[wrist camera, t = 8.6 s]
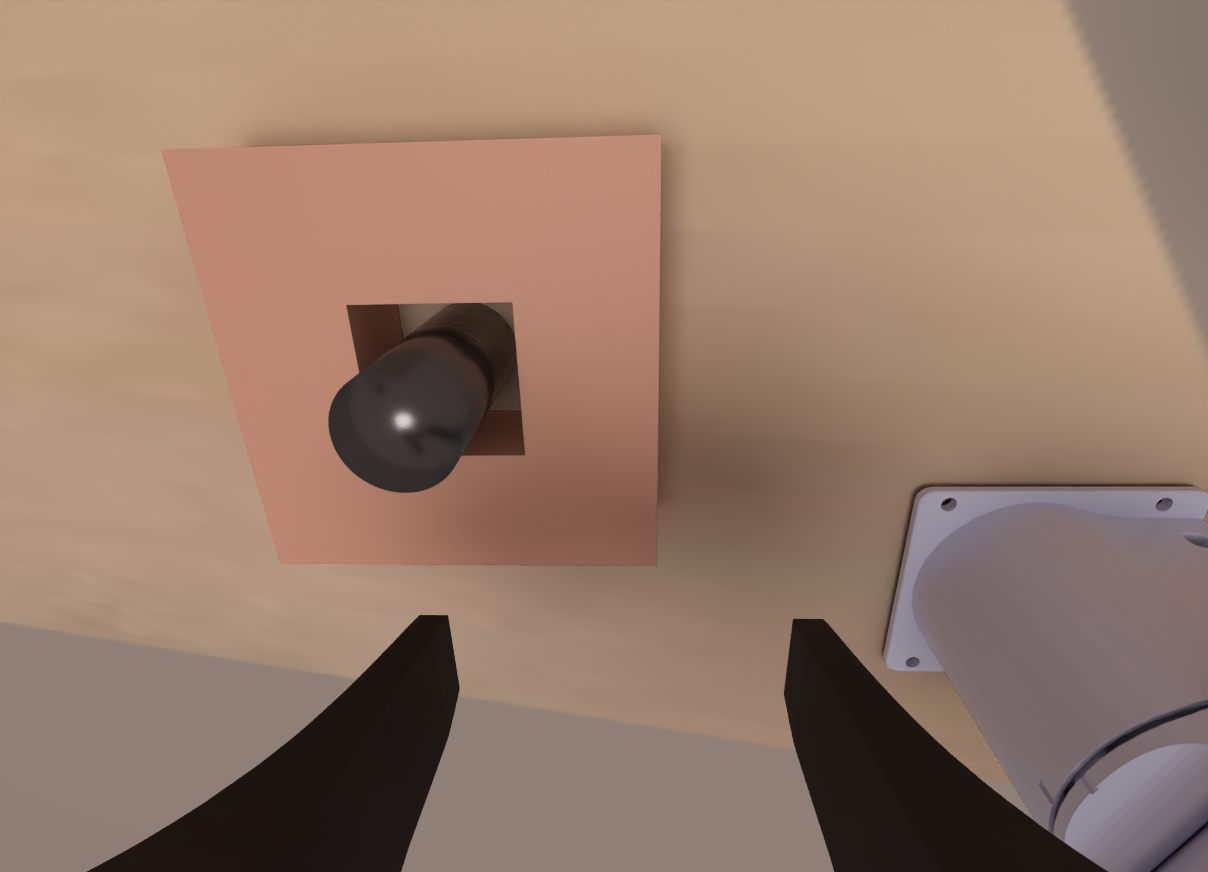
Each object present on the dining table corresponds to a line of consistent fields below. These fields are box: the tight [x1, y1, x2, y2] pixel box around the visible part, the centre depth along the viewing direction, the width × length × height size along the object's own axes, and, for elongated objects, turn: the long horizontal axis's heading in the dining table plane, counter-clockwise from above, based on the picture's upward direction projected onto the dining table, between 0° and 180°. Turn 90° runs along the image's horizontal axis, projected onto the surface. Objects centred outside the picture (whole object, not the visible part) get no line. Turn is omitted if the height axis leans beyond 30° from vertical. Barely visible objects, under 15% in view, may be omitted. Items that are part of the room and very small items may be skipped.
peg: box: [328, 303, 517, 493], centre depth 17 cm, size 3×3×7 cm
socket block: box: [161, 134, 661, 566], centre depth 19 cm, size 12×12×4 cm
